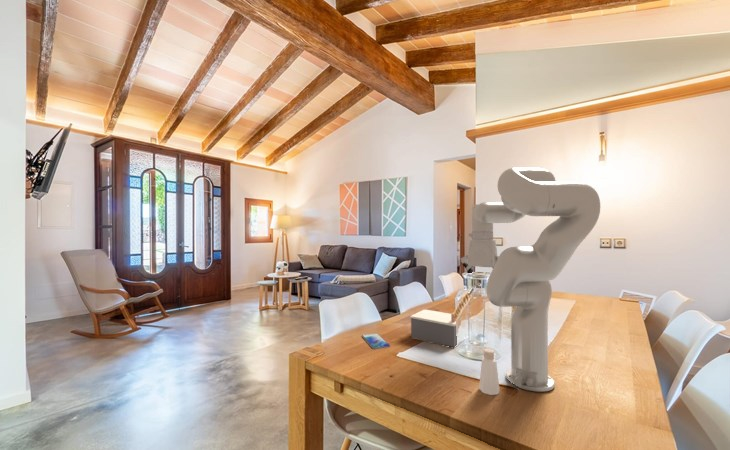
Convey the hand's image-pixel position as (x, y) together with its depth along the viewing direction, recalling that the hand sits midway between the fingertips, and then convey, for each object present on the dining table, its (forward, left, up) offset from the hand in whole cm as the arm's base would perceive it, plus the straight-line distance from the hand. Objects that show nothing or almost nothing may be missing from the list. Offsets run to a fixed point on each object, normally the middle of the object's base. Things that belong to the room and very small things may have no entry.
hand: (483, 281), depth 121 cm
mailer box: (-4, +17, -24) cm, 30 cm away
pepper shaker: (-33, -11, -24) cm, 42 cm away
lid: (-4, +17, -16) cm, 23 cm away
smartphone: (-21, +36, -25) cm, 48 cm away
